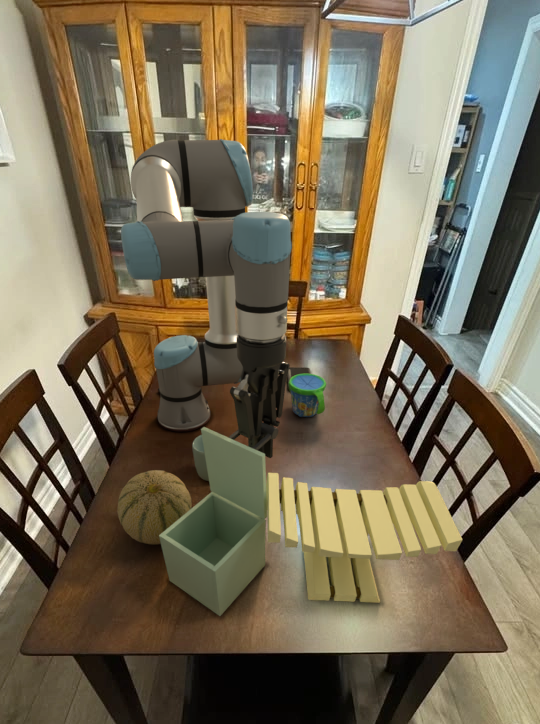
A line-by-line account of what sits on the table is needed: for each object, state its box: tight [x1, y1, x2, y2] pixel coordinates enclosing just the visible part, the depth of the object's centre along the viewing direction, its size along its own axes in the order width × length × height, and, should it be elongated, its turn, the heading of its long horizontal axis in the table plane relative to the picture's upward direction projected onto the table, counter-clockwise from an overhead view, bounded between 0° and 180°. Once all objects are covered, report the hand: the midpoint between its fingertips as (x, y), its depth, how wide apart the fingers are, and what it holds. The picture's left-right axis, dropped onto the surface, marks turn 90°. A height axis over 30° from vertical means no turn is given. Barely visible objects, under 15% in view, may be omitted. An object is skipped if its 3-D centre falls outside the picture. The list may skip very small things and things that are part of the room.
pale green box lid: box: [200, 421, 280, 520], centre depth 73 cm, size 14×13×9 cm
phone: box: [287, 366, 311, 390], centre depth 140 cm, size 8×1×15 cm
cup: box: [191, 434, 209, 482], centre depth 99 cm, size 8×8×10 cm
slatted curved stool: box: [266, 472, 463, 604], centre depth 75 cm, size 30×16×18 cm, turn 90°
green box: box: [159, 491, 267, 617], centre depth 76 cm, size 14×13×13 cm
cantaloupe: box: [116, 469, 193, 545], centre depth 83 cm, size 15×15×15 cm
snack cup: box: [288, 373, 327, 418], centre depth 122 cm, size 16×10×10 cm
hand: (261, 458), depth 76 cm, fingers closed on pale green box lid, 2 cm apart
